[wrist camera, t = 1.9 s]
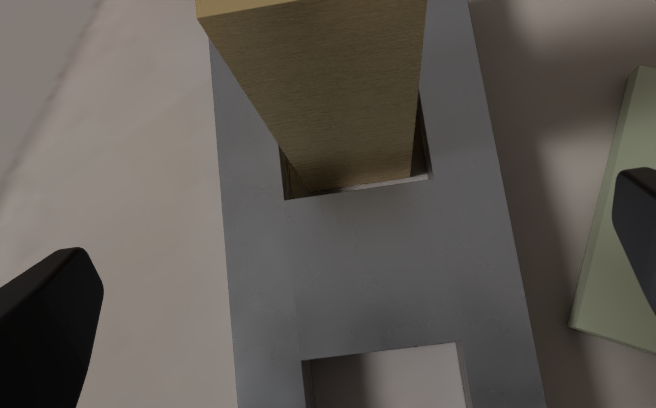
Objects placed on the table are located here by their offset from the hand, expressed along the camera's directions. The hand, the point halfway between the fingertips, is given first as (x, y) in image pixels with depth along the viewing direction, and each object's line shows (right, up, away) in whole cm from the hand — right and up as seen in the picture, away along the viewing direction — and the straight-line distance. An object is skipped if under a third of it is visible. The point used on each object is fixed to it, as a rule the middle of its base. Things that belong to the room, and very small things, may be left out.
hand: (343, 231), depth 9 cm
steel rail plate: (+1, -2, +12) cm, 12 cm away
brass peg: (+1, +3, +13) cm, 13 cm away
